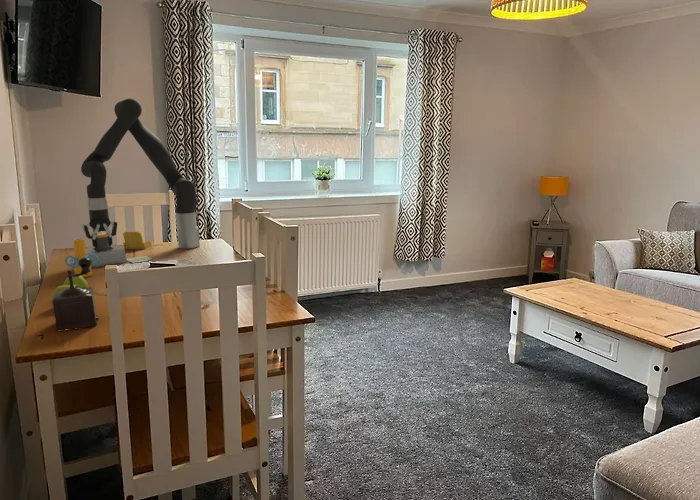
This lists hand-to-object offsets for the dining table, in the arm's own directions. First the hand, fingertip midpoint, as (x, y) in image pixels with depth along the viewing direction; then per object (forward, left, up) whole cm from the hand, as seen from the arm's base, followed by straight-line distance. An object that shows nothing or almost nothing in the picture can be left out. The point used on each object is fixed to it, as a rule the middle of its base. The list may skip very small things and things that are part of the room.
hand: (102, 246), depth 228 cm
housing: (0, 0, -7) cm, 7 cm away
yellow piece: (-21, -19, -7) cm, 29 cm away
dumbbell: (+24, +50, -7) cm, 56 cm away
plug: (0, 0, -7) cm, 7 cm away
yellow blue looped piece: (+13, +19, -7) cm, 24 cm away
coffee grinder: (+27, +73, -7) cm, 78 cm away
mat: (-13, +7, -7) cm, 16 cm away
